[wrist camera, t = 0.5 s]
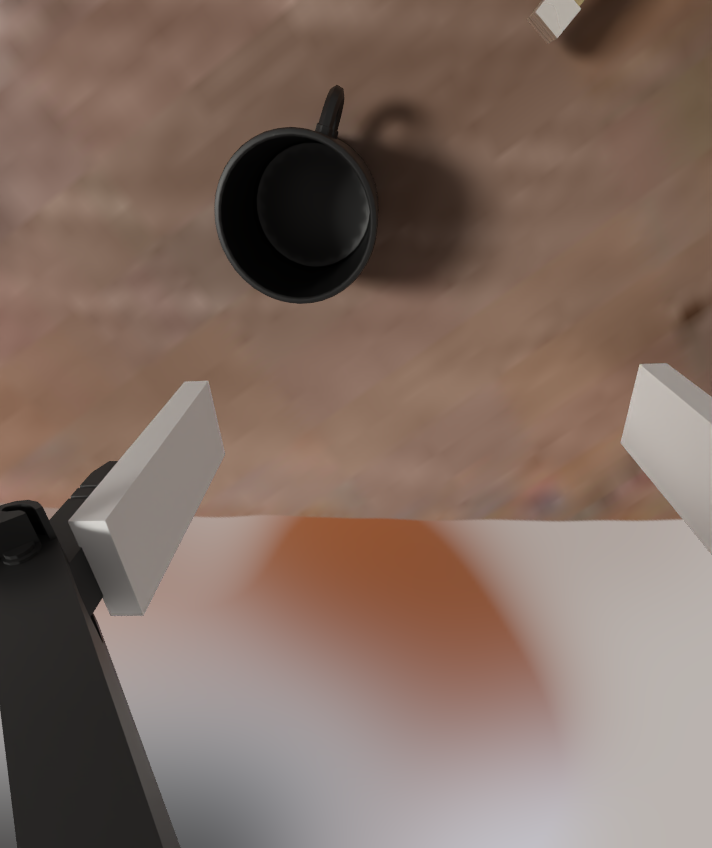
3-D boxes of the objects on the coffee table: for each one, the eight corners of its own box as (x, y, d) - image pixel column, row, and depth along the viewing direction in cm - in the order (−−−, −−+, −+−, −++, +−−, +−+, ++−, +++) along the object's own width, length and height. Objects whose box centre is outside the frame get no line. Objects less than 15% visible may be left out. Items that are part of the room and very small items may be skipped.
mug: (411, 121, 33) (420, 111, 25) (354, 289, 39) (347, 325, 31) (276, 66, 32) (242, 38, 24) (238, 248, 37) (200, 274, 30)
